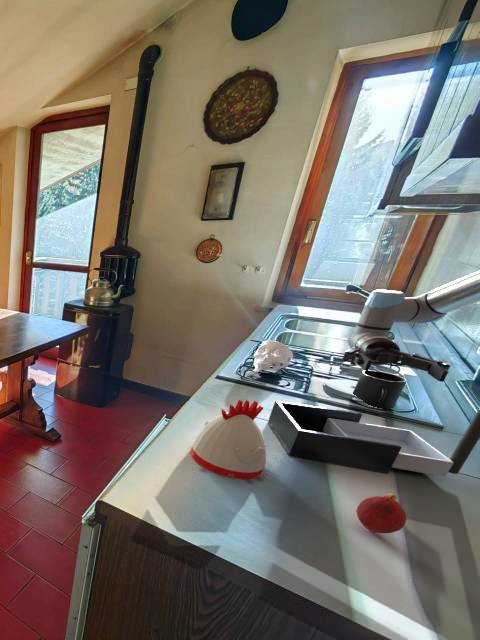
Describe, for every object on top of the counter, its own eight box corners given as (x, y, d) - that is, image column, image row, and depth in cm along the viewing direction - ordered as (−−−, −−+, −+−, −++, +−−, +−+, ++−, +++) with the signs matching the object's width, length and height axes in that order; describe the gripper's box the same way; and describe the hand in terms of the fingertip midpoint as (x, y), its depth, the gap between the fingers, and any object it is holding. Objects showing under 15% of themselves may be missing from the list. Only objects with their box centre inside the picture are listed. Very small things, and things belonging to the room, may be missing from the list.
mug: (353, 407, 115) (366, 379, 111) (348, 394, 124) (359, 368, 120) (398, 416, 109) (413, 387, 106) (389, 402, 118) (402, 374, 115)
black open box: (350, 436, 99) (361, 412, 96) (387, 474, 84) (402, 447, 81) (267, 423, 105) (275, 400, 102) (288, 456, 90) (298, 430, 87)
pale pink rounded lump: (240, 366, 143) (257, 336, 142) (250, 378, 151) (265, 351, 151) (273, 374, 134) (291, 343, 134) (281, 387, 143) (298, 358, 143)
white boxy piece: (417, 445, 93) (448, 388, 87) (461, 479, 81) (500, 416, 75) (322, 430, 99) (345, 376, 94) (349, 460, 87) (377, 399, 81)
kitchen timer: (278, 479, 82) (302, 416, 76) (213, 479, 81) (233, 415, 76) (235, 444, 94) (254, 387, 89) (179, 443, 94) (194, 387, 88)
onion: (391, 549, 64) (413, 511, 61) (345, 528, 68) (364, 492, 65) (398, 534, 67) (419, 497, 64) (354, 515, 72) (372, 479, 69)
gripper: (431, 369, 109) (470, 395, 93) (318, 354, 121) (334, 375, 104) (444, 344, 107) (486, 366, 90) (326, 331, 118) (345, 348, 101)
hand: (404, 371), depth 97 cm, fingers open, 13 cm apart
